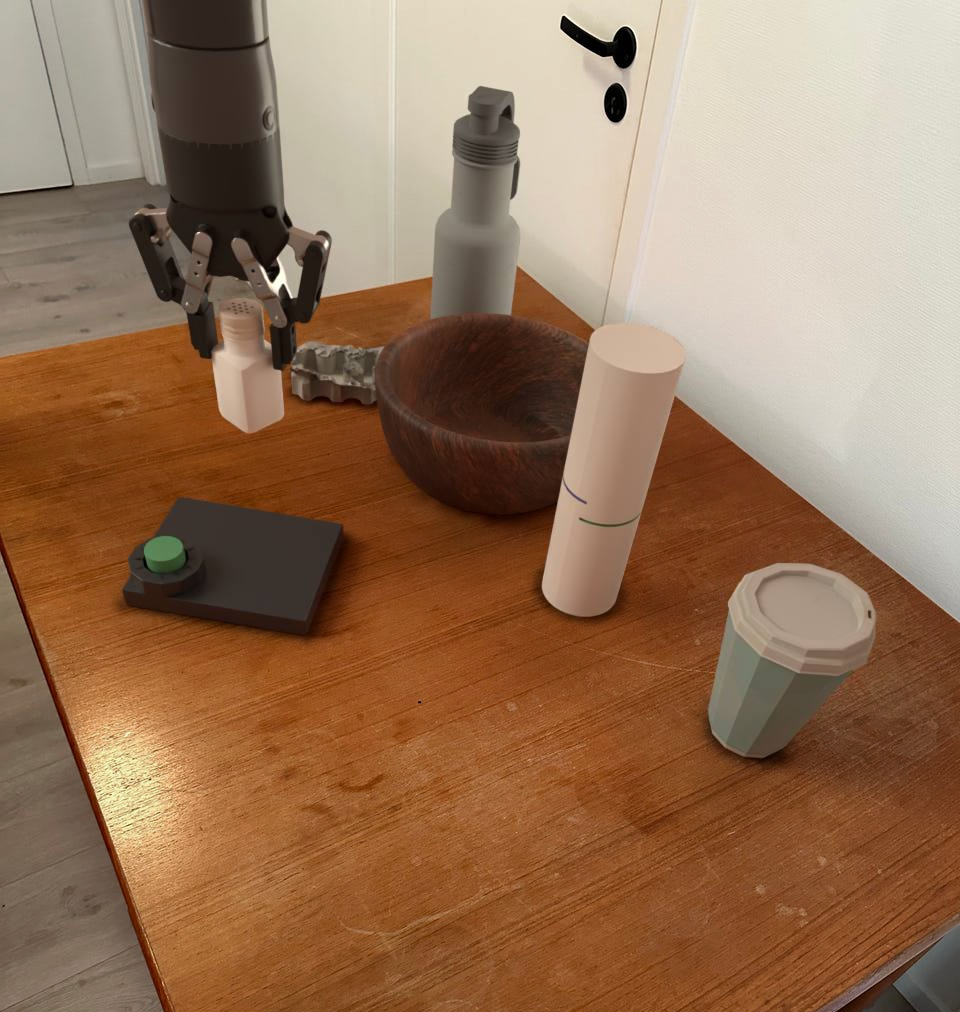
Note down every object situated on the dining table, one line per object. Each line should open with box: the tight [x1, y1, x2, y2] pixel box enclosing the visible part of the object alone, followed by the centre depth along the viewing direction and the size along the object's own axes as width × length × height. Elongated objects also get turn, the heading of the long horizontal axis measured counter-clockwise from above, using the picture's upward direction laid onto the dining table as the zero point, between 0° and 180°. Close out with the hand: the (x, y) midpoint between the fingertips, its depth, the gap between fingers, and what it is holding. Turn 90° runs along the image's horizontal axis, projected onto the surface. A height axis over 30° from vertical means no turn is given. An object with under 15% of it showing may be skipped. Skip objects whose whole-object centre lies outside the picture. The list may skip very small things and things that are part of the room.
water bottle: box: [429, 85, 521, 320], centre depth 102 cm, size 10×10×28 cm
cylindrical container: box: [541, 321, 687, 618], centre depth 75 cm, size 7×7×25 cm
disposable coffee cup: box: [707, 562, 877, 759], centre depth 70 cm, size 11×11×15 cm
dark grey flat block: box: [121, 496, 344, 637], centre depth 81 cm, size 16×13×4 cm
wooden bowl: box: [374, 313, 589, 515], centre depth 93 cm, size 25×25×10 cm
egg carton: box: [289, 340, 385, 406], centre depth 102 cm, size 11×8×4 cm
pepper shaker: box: [211, 297, 285, 434], centre depth 69 cm, size 4×4×10 cm
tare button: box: [144, 536, 186, 574], centre depth 77 cm, size 3×3×2 cm
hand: (245, 358), depth 69 cm, fingers closed on pepper shaker, 5 cm apart
